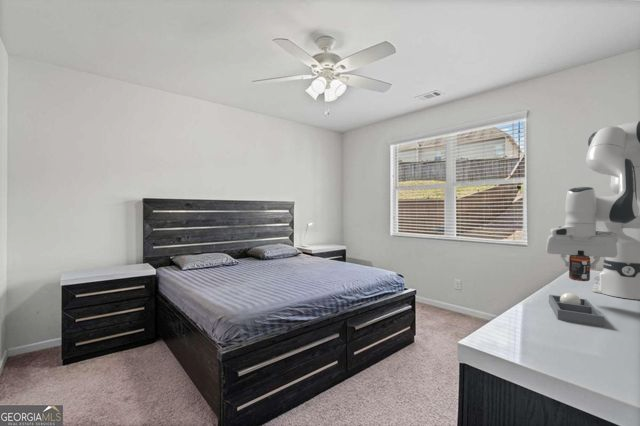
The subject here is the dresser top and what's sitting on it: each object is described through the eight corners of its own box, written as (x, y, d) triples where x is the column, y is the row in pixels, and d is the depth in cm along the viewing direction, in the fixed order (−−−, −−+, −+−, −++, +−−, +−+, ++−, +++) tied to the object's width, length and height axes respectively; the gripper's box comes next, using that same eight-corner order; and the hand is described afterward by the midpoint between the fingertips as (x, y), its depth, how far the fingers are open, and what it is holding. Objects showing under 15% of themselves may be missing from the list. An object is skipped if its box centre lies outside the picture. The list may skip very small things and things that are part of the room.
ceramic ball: (558, 305, 108) (558, 290, 108) (578, 308, 105) (579, 292, 105) (561, 309, 103) (561, 293, 103) (582, 313, 100) (582, 296, 100)
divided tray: (548, 304, 111) (549, 294, 111) (586, 309, 106) (586, 299, 106) (557, 321, 94) (557, 309, 94) (603, 328, 88) (603, 316, 88)
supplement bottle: (590, 282, 108) (591, 251, 108) (569, 280, 112) (569, 250, 111) (589, 279, 113) (589, 249, 113) (568, 276, 117) (568, 248, 116)
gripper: (615, 231, 109) (614, 268, 110) (545, 229, 120) (544, 263, 120) (621, 232, 104) (620, 272, 104) (547, 230, 114) (547, 266, 115)
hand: (579, 267), depth 112 cm, fingers closed on supplement bottle, 6 cm apart
